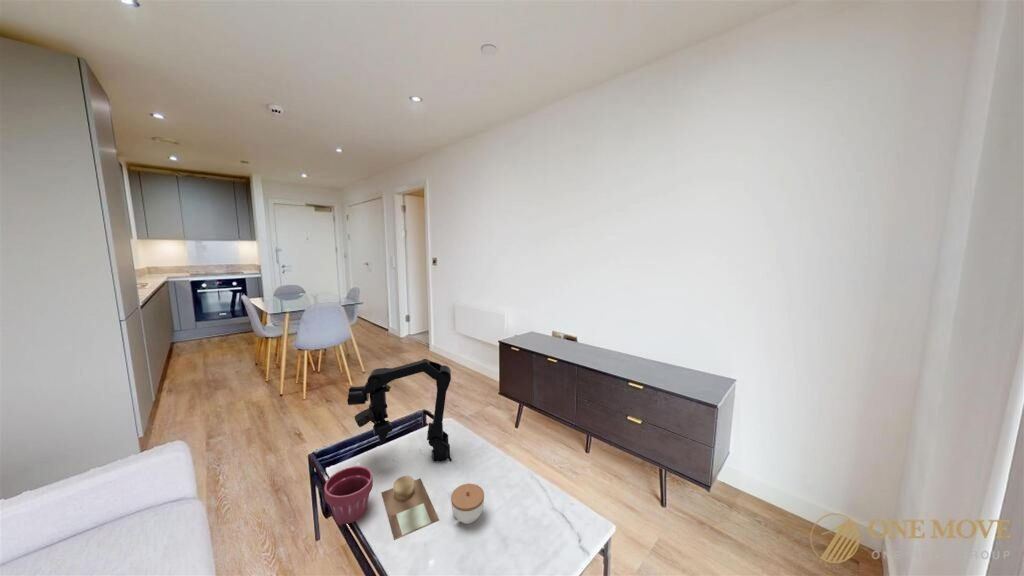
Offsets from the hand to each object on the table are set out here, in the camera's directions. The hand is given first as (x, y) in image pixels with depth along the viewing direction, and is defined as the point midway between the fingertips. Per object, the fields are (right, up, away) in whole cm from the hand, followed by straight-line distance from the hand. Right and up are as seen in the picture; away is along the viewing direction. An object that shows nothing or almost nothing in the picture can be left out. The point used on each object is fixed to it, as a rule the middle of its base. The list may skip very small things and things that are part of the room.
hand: (380, 439), depth 132 cm
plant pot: (-1, -15, -22) cm, 27 cm away
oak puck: (+14, -13, -14) cm, 23 cm away
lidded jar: (+38, -16, -22) cm, 46 cm away
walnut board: (+17, -15, -19) cm, 30 cm away
